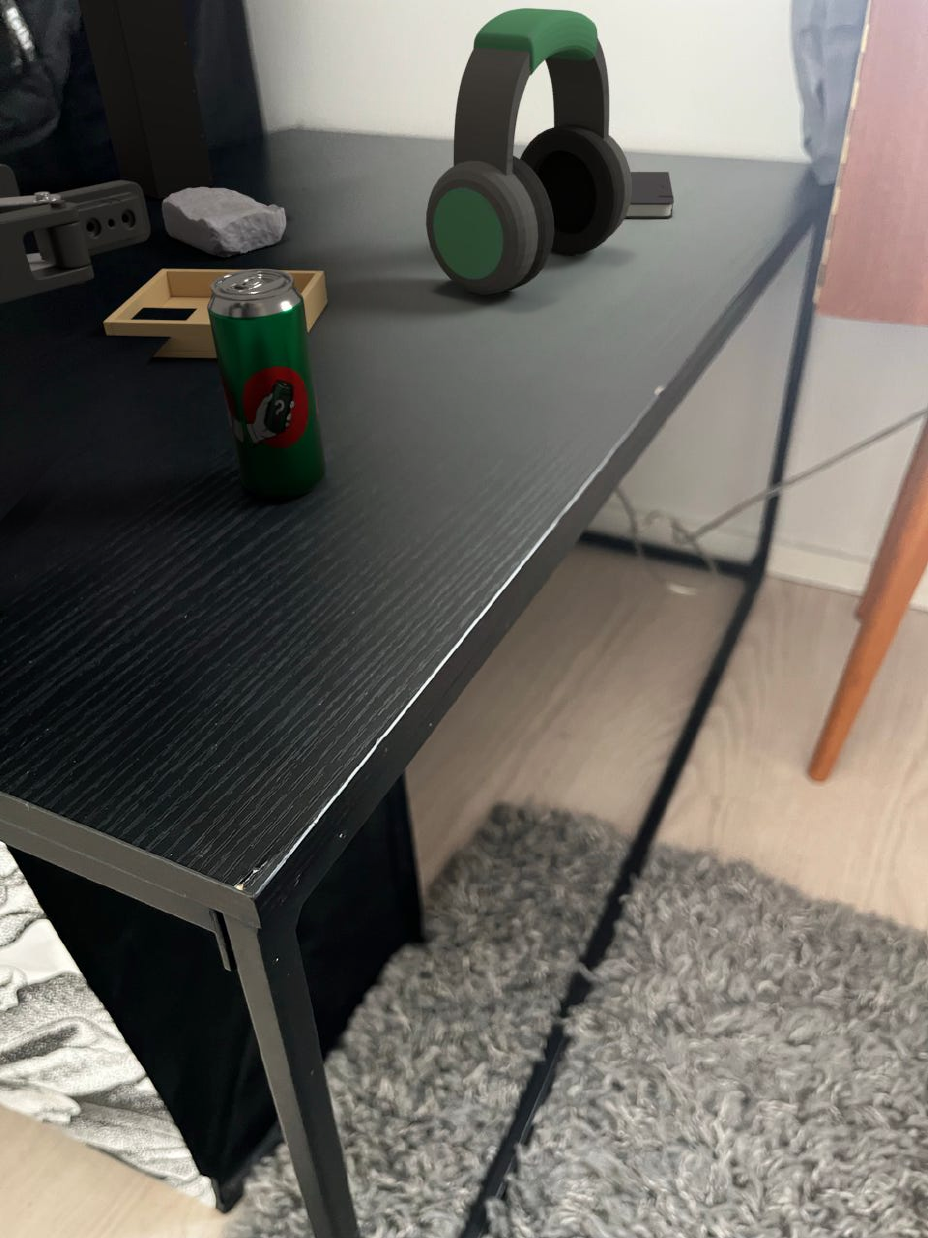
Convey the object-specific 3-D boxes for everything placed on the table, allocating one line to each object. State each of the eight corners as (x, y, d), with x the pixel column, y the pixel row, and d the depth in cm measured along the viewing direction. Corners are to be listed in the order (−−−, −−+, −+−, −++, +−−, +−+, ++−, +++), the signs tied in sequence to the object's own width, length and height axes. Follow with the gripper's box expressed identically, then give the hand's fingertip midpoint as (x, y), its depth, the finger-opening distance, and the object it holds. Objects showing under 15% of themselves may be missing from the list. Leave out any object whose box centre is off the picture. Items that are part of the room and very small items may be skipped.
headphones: (522, 314, 77) (526, 28, 64) (419, 289, 82) (404, 20, 70) (635, 252, 89) (657, 0, 76) (539, 234, 94) (545, -5, 81)
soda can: (344, 474, 57) (320, 275, 50) (288, 512, 54) (253, 305, 46) (281, 454, 59) (250, 260, 52) (224, 489, 56) (182, 287, 49)
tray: (112, 356, 72) (102, 321, 71) (168, 299, 82) (161, 268, 80) (290, 360, 71) (285, 325, 69) (327, 302, 80) (324, 270, 79)
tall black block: (158, 200, 108) (91, -108, 90) (121, 189, 112) (51, -107, 94) (215, 186, 112) (161, -111, 95) (178, 176, 116) (120, -110, 99)
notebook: (667, 186, 107) (481, 185, 109) (668, 171, 106) (481, 171, 108) (672, 218, 97) (468, 217, 99) (674, 202, 96) (468, 201, 98)
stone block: (241, 233, 102) (155, 233, 96) (242, 185, 100) (154, 183, 94) (302, 261, 96) (213, 264, 89) (305, 211, 93) (214, 210, 87)
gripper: (-347, 182, 23) (170, 104, 34) (-532, 142, 30) (-52, 88, 40) (-212, 464, 27) (208, 314, 38) (-401, 373, 34) (1, 268, 45)
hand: (73, 198), depth 39 cm, fingers open, 8 cm apart
